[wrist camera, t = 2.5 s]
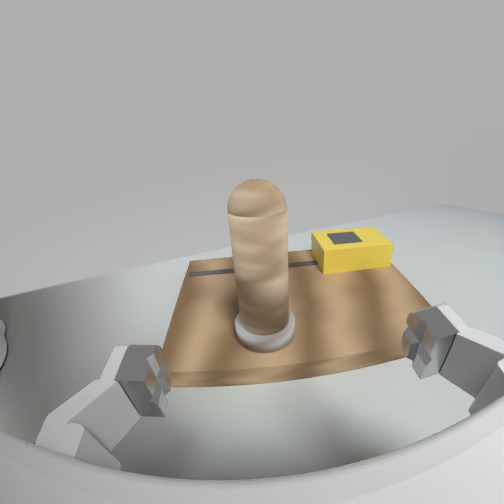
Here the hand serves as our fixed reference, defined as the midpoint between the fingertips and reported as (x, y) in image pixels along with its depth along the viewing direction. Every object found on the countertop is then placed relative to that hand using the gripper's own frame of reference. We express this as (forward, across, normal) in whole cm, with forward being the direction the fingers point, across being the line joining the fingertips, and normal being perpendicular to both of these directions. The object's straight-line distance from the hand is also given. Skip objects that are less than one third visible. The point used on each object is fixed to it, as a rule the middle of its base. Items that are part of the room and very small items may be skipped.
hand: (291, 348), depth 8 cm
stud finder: (+24, -12, +10) cm, 29 cm away
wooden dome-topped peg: (+12, 0, +10) cm, 16 cm away
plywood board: (+18, -4, +12) cm, 22 cm away
